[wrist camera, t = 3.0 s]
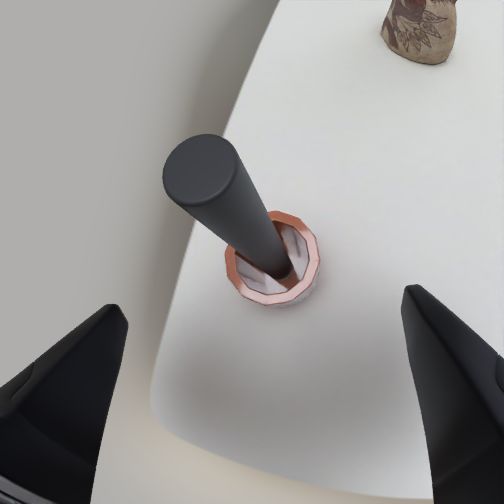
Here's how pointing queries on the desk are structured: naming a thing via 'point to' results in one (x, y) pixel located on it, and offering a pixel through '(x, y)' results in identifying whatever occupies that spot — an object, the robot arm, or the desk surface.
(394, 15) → the figurine
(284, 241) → the stylus holder
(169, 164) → the dark grey rod
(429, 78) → the desk surface
